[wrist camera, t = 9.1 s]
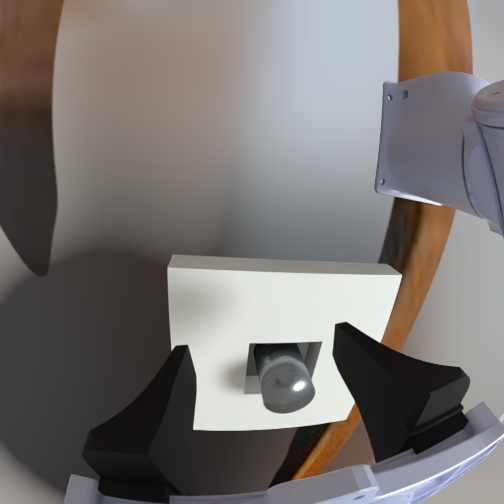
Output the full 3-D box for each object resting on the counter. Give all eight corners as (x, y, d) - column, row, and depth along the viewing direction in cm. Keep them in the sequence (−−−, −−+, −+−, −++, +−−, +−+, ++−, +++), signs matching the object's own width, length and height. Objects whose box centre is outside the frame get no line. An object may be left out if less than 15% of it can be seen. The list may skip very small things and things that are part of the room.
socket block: (172, 254, 21) (167, 267, 18) (387, 264, 23) (402, 275, 21) (182, 411, 26) (180, 428, 24) (339, 404, 29) (346, 419, 27)
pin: (245, 344, 24) (254, 394, 18) (287, 325, 24) (305, 371, 18) (264, 372, 26) (275, 419, 20) (302, 354, 25) (321, 400, 20)
